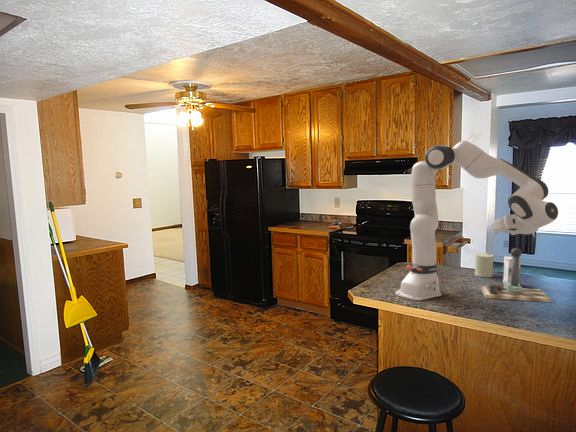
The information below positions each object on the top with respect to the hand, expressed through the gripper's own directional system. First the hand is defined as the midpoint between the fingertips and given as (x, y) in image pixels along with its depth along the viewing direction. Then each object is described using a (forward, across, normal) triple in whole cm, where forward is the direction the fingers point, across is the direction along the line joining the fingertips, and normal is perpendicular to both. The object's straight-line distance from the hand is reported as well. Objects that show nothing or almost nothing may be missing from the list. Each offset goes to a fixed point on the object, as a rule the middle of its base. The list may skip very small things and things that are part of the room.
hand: (502, 232), depth 186 cm
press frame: (+8, -7, +28) cm, 30 cm away
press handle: (+7, -6, +25) cm, 27 cm away
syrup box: (+21, -17, +20) cm, 34 cm away
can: (+39, -15, +12) cm, 43 cm away
